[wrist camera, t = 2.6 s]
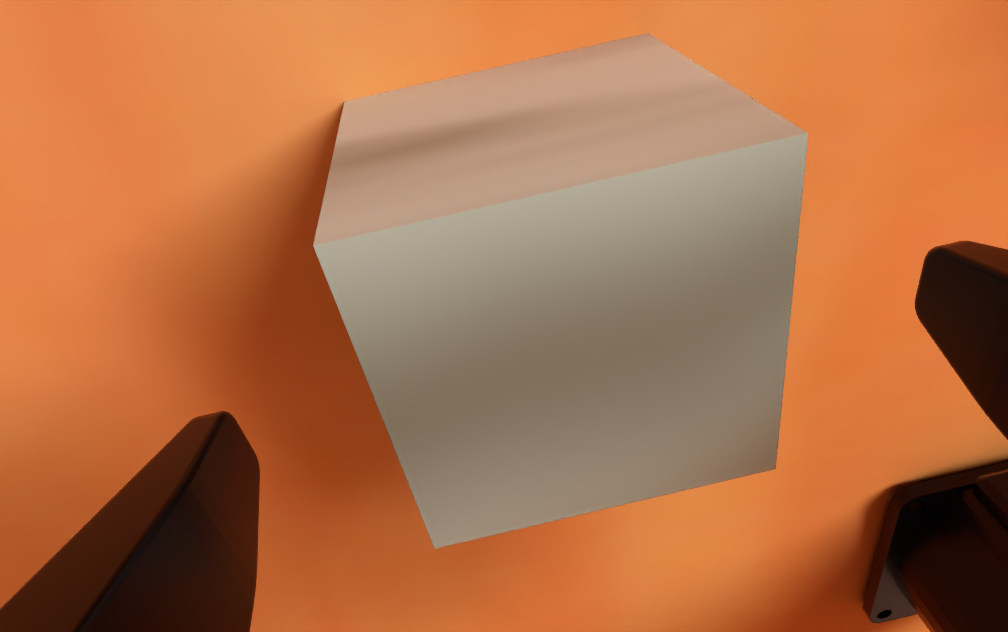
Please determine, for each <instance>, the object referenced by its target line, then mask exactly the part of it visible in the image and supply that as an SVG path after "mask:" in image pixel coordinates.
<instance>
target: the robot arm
mask: <svg viewBox="0 0 1008 632" xmlns="http://www.w3.org/2000/svg"><path fill="white" fill-rule="evenodd" d="M915 309H916V313H917V316H918V318H919V320H920V322H921V323H922V325H923V326H924V327H925V329H926V330H927V332H928V333H929V335H930V336H931V337H932V339H933V340H934V342H935V343H936V345H937V346H938V347H939V349H940V350H941V352H942V353H943V355H944V356H945V357H946V359H947V360H948V362H949V363H950V365H951V366H952V367H953V369H954V370H955V372H956V373H957V375H958V376H959V377H960V379H961V380H962V382H963V383H964V385H965V386H966V387H967V389H968V390H969V392H970V393H971V395H972V396H973V397H974V399H975V400H976V402H977V403H978V404H979V406H980V407H981V408H982V410H983V411H984V412H985V414H986V415H987V416H988V417H989V418H990V420H991V421H992V422H993V423H994V424H995V426H996V427H997V428H998V429H999V430H1000V432H1001V433H1002V434H1003V435H1004V436H1005V437H1006V439H1007V440H1008V250H1007V249H1003V248H998V247H994V246H989V245H985V244H980V243H976V242H971V241H959V242H954V243H950V244H946V245H941V246H937V247H934V248H933V249H931V250H930V251H929V252H928V253H927V255H926V256H925V259H924V263H923V267H922V272H921V276H920V280H919V285H918V289H917V293H916V298H915ZM259 485H260V469H259V463H258V459H257V456H256V454H255V452H254V450H253V449H252V447H251V445H250V443H249V442H248V440H247V438H246V437H245V435H244V433H243V431H242V430H241V428H240V426H239V425H238V423H237V421H236V419H235V418H234V417H233V416H232V415H231V414H230V413H228V412H225V411H221V412H216V413H212V414H208V415H203V416H199V417H196V418H194V419H192V420H191V421H190V422H189V423H188V424H187V425H186V426H185V427H184V428H183V429H182V430H181V431H180V432H179V433H178V434H177V435H176V436H175V437H174V438H173V439H172V440H171V441H170V442H169V443H168V444H167V445H166V446H165V447H164V448H163V449H162V450H161V451H160V452H159V453H158V454H157V455H156V456H155V457H154V458H153V459H151V460H150V461H149V462H148V463H147V464H146V465H145V466H144V467H143V468H142V469H141V470H140V471H139V472H138V473H137V474H136V475H135V476H134V477H133V478H132V479H131V480H130V481H129V482H128V483H127V484H126V485H125V486H124V487H123V488H122V489H121V490H120V491H119V492H118V493H117V494H116V495H115V496H114V497H113V498H112V499H111V500H110V501H109V502H108V503H107V504H106V505H105V506H104V507H103V508H102V509H101V510H100V511H99V512H98V513H97V514H96V515H95V516H94V517H93V518H92V519H91V520H90V521H89V522H88V523H87V524H86V525H85V526H84V527H83V528H82V529H81V530H80V531H79V532H78V533H77V534H76V535H75V536H74V537H73V538H71V539H70V540H69V541H68V542H67V543H66V544H65V545H64V546H63V547H62V548H61V549H60V550H59V551H58V552H57V553H56V554H55V555H54V556H53V557H52V558H51V559H50V560H49V561H48V562H47V563H46V564H45V565H44V566H43V567H42V568H41V569H40V570H39V571H38V572H37V573H36V574H35V575H34V576H33V577H32V578H31V579H30V580H29V581H28V582H27V583H26V584H25V585H24V586H23V587H22V588H21V589H20V590H19V591H18V592H17V593H16V594H15V595H14V596H13V597H12V598H11V599H10V600H9V601H8V602H7V603H6V604H5V605H4V606H3V607H2V608H1V609H0V632H250V626H251V619H252V612H253V605H254V597H255V589H256V578H257V556H258V520H259ZM862 607H863V611H864V612H865V614H866V615H867V617H868V618H869V620H870V621H871V622H873V623H881V622H886V621H890V620H894V619H898V618H902V617H907V616H911V615H915V614H918V615H919V617H920V618H921V620H922V621H923V622H924V624H925V625H926V627H927V628H928V629H929V631H930V632H1008V462H1005V463H1001V464H997V465H992V466H988V467H984V468H980V469H975V470H971V471H967V472H963V473H958V474H954V475H950V476H946V477H941V478H937V479H933V480H929V481H924V482H920V483H916V484H912V485H909V486H906V487H903V488H902V489H900V490H898V491H897V492H896V493H895V494H894V495H893V496H892V498H891V500H890V503H889V507H888V511H887V515H886V519H885V522H884V526H883V530H882V534H881V538H880V541H879V545H878V549H877V553H876V557H875V560H874V564H873V568H872V572H871V576H870V579H869V583H868V587H867V591H866V595H865V598H864V602H863V606H862Z"/></svg>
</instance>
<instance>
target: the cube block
mask: <svg viewBox="0 0 1008 632" xmlns="http://www.w3.org/2000/svg"><path fill="white" fill-rule="evenodd" d="M807 141H808V133H807V132H806V131H804V130H802V129H801V128H799V127H798V126H796V125H794V124H793V123H791V122H790V121H788V120H786V119H785V118H783V117H782V116H780V115H778V114H777V113H775V112H774V111H772V110H770V109H769V108H767V107H766V106H764V105H762V104H761V103H759V102H758V101H756V100H754V99H753V98H751V97H750V96H748V95H746V94H745V93H743V92H742V91H740V90H738V89H737V88H735V87H734V86H732V85H730V84H729V83H727V82H726V81H724V80H722V79H721V78H719V77H718V76H716V75H714V74H713V73H711V72H710V71H708V70H706V69H705V68H703V67H702V66H700V65H698V64H697V63H695V62H694V61H692V60H690V59H689V58H687V57H686V56H684V55H682V54H681V53H679V52H678V51H676V50H674V49H673V48H671V47H670V46H668V45H666V44H665V43H663V42H662V41H660V40H658V39H657V38H655V37H654V36H652V35H650V34H649V33H646V34H642V35H638V36H633V37H629V38H624V39H620V40H615V41H611V42H606V43H602V44H598V45H593V46H589V47H584V48H580V49H575V50H571V51H567V52H562V53H558V54H553V55H549V56H544V57H540V58H535V59H531V60H527V61H522V62H518V63H513V64H509V65H504V66H500V67H495V68H491V69H487V70H482V71H478V72H473V73H469V74H464V75H460V76H455V77H451V78H447V79H442V80H438V81H433V82H429V83H424V84H420V85H415V86H411V87H407V88H402V89H398V90H393V91H389V92H384V93H380V94H375V95H371V96H367V97H362V98H358V99H353V100H349V101H344V106H343V111H342V115H341V120H340V124H339V129H338V134H337V138H336V143H335V147H334V152H333V156H332V161H331V166H330V170H329V175H328V179H327V184H326V189H325V193H324V198H323V202H322V207H321V212H320V216H319V221H318V225H317V230H316V235H315V239H314V244H313V247H314V250H315V252H316V254H317V257H318V259H319V262H320V264H321V267H322V269H323V272H324V274H325V277H326V279H327V282H328V284H329V287H330V289H331V292H332V294H333V297H334V299H335V302H336V304H337V307H338V309H339V312H340V314H341V317H342V319H343V322H344V324H345V327H346V329H347V332H348V334H349V337H350V339H351V342H352V344H353V347H354V349H355V352H356V354H357V357H358V359H359V362H360V364H361V367H362V369H363V372H364V374H365V377H366V379H367V382H368V384H369V387H370V389H371V392H372V394H373V397H374V399H375V402H376V404H377V407H378V409H379V412H380V414H381V417H382V419H383V421H384V424H385V426H386V429H387V431H388V434H389V436H390V439H391V441H392V444H393V446H394V449H395V451H396V454H397V456H398V459H399V461H400V464H401V466H402V469H403V471H404V474H405V476H406V479H407V481H408V484H409V486H410V489H411V491H412V494H413V496H414V499H415V501H416V504H417V506H418V509H419V511H420V514H421V516H422V519H423V521H424V524H425V526H426V529H427V531H428V534H429V536H430V539H431V541H432V544H433V546H434V549H436V548H440V547H445V546H449V545H453V544H457V543H462V542H466V541H470V540H474V539H479V538H483V537H487V536H492V535H496V534H500V533H504V532H509V531H513V530H517V529H521V528H526V527H530V526H534V525H538V524H543V523H547V522H551V521H556V520H560V519H564V518H568V517H573V516H577V515H581V514H585V513H590V512H594V511H598V510H603V509H607V508H611V507H615V506H620V505H624V504H628V503H632V502H637V501H641V500H645V499H649V498H654V497H658V496H662V495H667V494H671V493H675V492H679V491H684V490H688V489H692V488H696V487H701V486H705V485H709V484H714V483H718V482H722V481H726V480H731V479H735V478H739V477H743V476H748V475H752V474H756V473H760V472H765V471H769V470H773V469H776V458H777V448H778V438H779V428H780V418H781V407H782V397H783V387H784V377H785V366H786V356H787V346H788V336H789V326H790V315H791V305H792V295H793V285H794V274H795V264H796V254H797V244H798V233H799V223H800V213H801V203H802V193H803V182H804V172H805V162H806V152H807Z"/></svg>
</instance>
